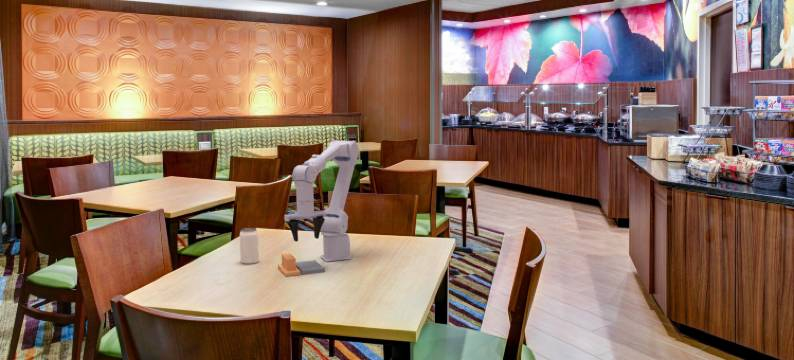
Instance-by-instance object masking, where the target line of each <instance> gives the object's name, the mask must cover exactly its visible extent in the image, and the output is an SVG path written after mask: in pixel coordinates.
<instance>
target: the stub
mask: <svg viewBox="0 0 794 360" xmlns="http://www.w3.org/2000/svg"><path fill="white" fill-rule="evenodd" d="M296 262H297V260H296V257H294V256H293V254H292V253H290V252H289V253H281V263H279V264H278V263H277V268H278V269H279V270H280V271H281V273H282V274H283V275H284V277H292V276H299V275H301V274H300V270H299V269H298V268H297V267H296Z"/></svg>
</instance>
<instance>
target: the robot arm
mask: <svg viewBox="0 0 794 360" xmlns="http://www.w3.org/2000/svg"><path fill="white" fill-rule="evenodd" d="M359 153H360V148H359V145H358V142H357V141H356V140H336V139H334V140H332V141H330V142H329V143H328V147H327V148H326V149H325V150H324V151H322V152H321V153H320V154H312V155H311V157H310V158H309V159H308V160H306V161H304V163H303V164H300V165H299V164H298V165H296V166H295V167H294V168H293V171H292V174H291V176H292V181H293V182H294V187H295V190H296V212H295V213H288V214H284V221H285V222H286V224H287V225H288V227H289V230H290V231H291V234H292V238H293V241H294V242H299V234H298V233H299V224H300V223H299V222H298V221H297V220H305V219H306V220H307V219H312V223H313V236H314V239H317V240H318V239H319V238H320V233H321V235H322V242H323V244H322V248H323V255H320V258H321V259H322V260H323V261H325V262H333V261H343V260H344V261H345V260H350V259H352V257H351V241H350V236H349V233H346V232H347V230H348V226H349V224H348V221H349V216H348V214H347V213H346V212H345V210H344V209H345V205H346V200H347V197H348V193H349V189H350V185H351V181H352V177H353V173H354V170H355V166H356V165H357V161H358V158H359ZM332 160H333V162H334V163H335V165H337V166H338V167H339V169H338V171H337V177H336V181H335V184H334V188H333V192H332V196H331V198H330V199H331V200H330V203H329V207H327V208H326V209H324V210H315V206H314V204H315V203H314V182H315V181H316V179H317V176H319V173H321V172H322V171H323V170H325V168H326V167H327V163H328V162H330V161H332Z"/></svg>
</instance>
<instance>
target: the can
mask: <svg viewBox="0 0 794 360" xmlns="http://www.w3.org/2000/svg"><path fill="white" fill-rule="evenodd" d="M257 230H258V229H257V228H255V227H245V228H242V229H240V232H239V250H240V251H239V252H240V263H241V264H243V265H252V264H257V263H259V261H260V251H259V246H260V245H259V233H258V231H257Z"/></svg>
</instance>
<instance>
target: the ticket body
mask: <svg viewBox="0 0 794 360" xmlns="http://www.w3.org/2000/svg"><path fill="white" fill-rule="evenodd" d="M296 267H297V268H298V269H299V270H300V275H310V274H318V273H326V272H325V271H326V270H325V267H324V266H322V265H321V264H320V263H319V262H318V261H317V260H316V259H314V260H313V259H312V260H305V261H296Z"/></svg>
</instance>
